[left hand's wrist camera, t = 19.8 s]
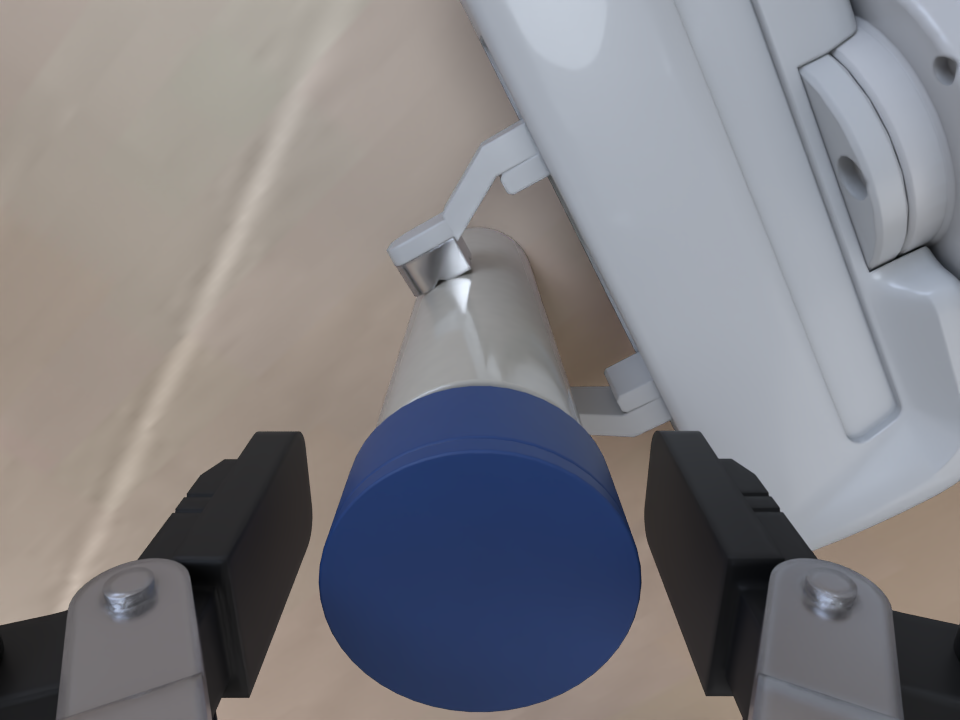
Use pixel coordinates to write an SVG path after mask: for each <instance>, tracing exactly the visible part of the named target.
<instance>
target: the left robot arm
mask: <svg viewBox="0 0 960 720" xmlns="http://www.w3.org/2000/svg"><path fill="white" fill-rule="evenodd" d="M175 510H176V511H175V513H172V514H171V516H170V517H169V518H168V520H167V521H166V522H165V524H164V525H163V526H162V528H161V529H160V530H159V532H158V533H157V534H156V536H155V537H154V538H153V540H152V541H151V543H150V544H149V545H148V547H147V548H146V549H145V551H144V552H143V553H142V555H141V556H140V557H139V559H138V560H136V561H131V562H128V563H124V564H121V565H118V566H116V567H113V568H111V569H109V570H107V571H105V572H103V573H101V574H99V575H98V576H96V577H94V578H93V579H91V580H90V581H89V582H87V583H86V584H85V585H84V586H83V587H82V588H81V589H80V590H79V591H78V592H77V593H76V594H75V596H74V597H73V598H72V600H71V602H70V604H69V608H68V610H66V611H63V612H59V613H56V614H52V615H47V616H42V617H38V618H33V619H28V620H24V621H19V622H14V623H10V624H5V625H0V720H218V719H217V714H216V709H217V707H218V705H219V702H220V700H221V698H249V697H250V695H251V692H252V690H253V687H254V684H255V682H256V679H257V677H258V674H259V671H260V669H261V666H262V664H263V661H264V658H265V656H266V653H267V651H268V648H269V645H270V643H271V640H272V638H273V635H274V633H275V630H276V627H277V625H278V622H279V620H280V617H281V614H282V612H283V609H284V607H285V604H286V601H287V599H288V596H289V594H290V591H291V589H292V586H293V583H294V581H295V578H296V576H297V573H298V570H299V568H300V565H301V563H302V560H303V557H304V555H305V552H306V550H307V547H308V544H309V541H310V536H311V529H312V503H311V493H310V484H309V475H308V465H307V456H306V447H305V441H304V437H303V435H302V433H301V432H256V433H255V434H254V435H253V437H252V438H251V440H250V441H249V443H248V444H247V446H246V447H245V449H244V450H243V452H242V453H241V455H240V456H239V458H238V459H224V460H223V461H221V462H220V463H218V464H217V465H215V466H214V467H212V468H211V469H209V470H208V471H206V472H205V473H203V474H202V475H200V477H199V478H198V479H197V481H196V482H195V483H194V485H193V486H192V487H191V489H190V490H189V492H188V493H187V497H184V498H183V500H182V501H181V502H180V504H179V505H178V506H177V508H176V509H175ZM644 520H645V531H646V537H647V541H648V544H649V547H650V550H651V553H652V555H653V558H654V560H655V563H656V566H657V568H658V571H659V574H660V576H661V579H662V582H663V584H664V587H665V589H666V592H667V595H668V597H669V600H670V603H671V605H672V608H673V611H674V613H675V616H676V618H677V621H678V624H679V626H680V629H681V632H682V634H683V637H684V640H685V642H686V645H687V647H688V650H689V653H690V655H691V658H692V661H693V663H694V666H695V669H696V671H697V674H698V676H699V679H700V682H701V684H702V687H703V690H704V692H705V695H706V696H734V699H735V701H736V703H737V706H738V708H739V710H740V713H741V715H742V717H743V719H742V720H960V624H959V625H957V624H952V623H947V622H943V621H938V620H933V619H929V618H924V617H919V616H915V615H910V614H905V613H901V612H897V611H893V610H892V608H891V604H890V602H889V600H888V598H887V597H886V596H885V594H884V593H883V592H882V591H881V590H880V589H879V588H878V587H877V586H876V585H875V584H874V583H873V582H871V581H870V580H869V579H867V578H866V577H864V576H862V575H861V574H859V573H857V572H855V571H853V570H851V569H849V568H847V567H844V566H842V565H839V564H836V563H832V562H829V561H824V560H819V559H817V558H816V556H815V555H814V553H813V552H812V551H811V549H810V548H809V547H808V545H807V544H806V543H805V541H804V540H803V538H802V537H801V536H800V534H799V533H798V532H797V530H796V529H795V528H794V526H793V525H792V524H791V522H790V521H789V519H788V518H787V517H786V515H785V514H784V513H783V512H780V507H779V506H778V505H777V503H776V502H775V500H774V499H773V498H772V496H769V492H768V491H767V490H766V488H765V487H764V485H763V484H762V483H761V481H760V480H759V479H758V477H757V476H756V475H755V474H754V473H753V472H751V471H750V470H748V469H746V468H745V467H743V466H742V465H740V464H739V463H737V462H736V461H734V460H733V459H719V458H718V457H717V455H716V454H715V452H714V451H713V449H712V448H711V446H710V445H709V443H708V442H707V440H706V439H705V437H704V436H703V434H702V433H701V432H700V431H656V432H655V433H654V435H653V438H652V443H651V451H650V461H649V470H648V480H647V489H646V499H645V510H644Z"/></svg>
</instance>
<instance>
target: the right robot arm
mask: <svg viewBox="0 0 960 720" xmlns="http://www.w3.org/2000/svg"><path fill="white" fill-rule="evenodd" d="M460 2H461V4H462V6H463V8H464V10H465V12H466V14H467V16H468V18H469V20H470V22H471V24H472V26H473V28H474V30H475V32H476V34H477V36H478V38H479V40H480V42H481V44H482V46H483V48H484V50H485V52H486V54H487V56H488V58H489V60H490V62H491V64H492V66H493V68H494V70H495V72H496V74H497V76H498V78H499V80H500V82H501V84H502V86H503V88H504V90H505V92H506V94H507V96H508V98H509V100H510V102H511V104H512V106H513V108H514V110H515V112H516V114H517V116H518V118H519V121H517V122H515V123H514V124H512V125H510V126H509V127H507V128H505V129H504V130H502V131H500V132H498V133H497V134H495V135H493V136H492V137H490V138H488V139H487V140H485V141H483V142H481V144H480V146H479V148H478V149H477V151H476V153H475V155H474V156H473V158H472V160H471V161H470V163H469V165H468V167H467V168H466V170H465V172H464V174H463V175H462V177H461V179H460V180H459V182H458V184H457V186H456V187H455V189H454V191H453V193H452V194H451V196H450V198H449V200H448V201H447V203H446V205H445V207H444V210H443V212H442V213H440V214H438V215H436V216H434V217H433V218H431V219H429V220H427V221H426V222H424V223H422V224H420V225H419V226H417V227H415V228H413V229H412V230H410V231H408V232H406V233H405V234H403V235H402V236H400V237H399V238H397V239H396V240H395V241H393V242H392V243H391V244H390V246H389V247H388V249H387V252H388V254H389V256H390V258H391V259H392V261H393V263H394V265H395V266H396V267H397V269H398V270H399V272H400V274H401V275H402V277H403V278H404V280H405V281H406V283H407V285H408V286H409V288H410V289H411V291H412V293H413V294H414V296H416V297H418V296H421V295H423V294H426V293H428V292H429V291H431V290H433V289H434V288H435V287H436V285H437V282H438V280H447V281H448V280H451V279H453V278H455V277H457V276H459V275H461V274H462V273H464V272H466V271H468V270H470V269H471V261H470V260H472V254H471V252H470V251H469V249H468V247H467V245H466V243H465V241H464V239H463V237H462V236H461V235H462V233H463V232H464V230H465V228H466V227H467V225H468V223H469V222H470V220H471V218H472V217H473V215H474V213H475V212H476V210H477V208H478V207H479V205H480V204H481V202H482V200H483V199H484V197H485V195H486V194H487V192H488V190H489V189H490V187H491V185H492V184H493V182H494V180H495V179H496V177H497V176H500V180H501V182H502V184H503V186H504V188H505V190H506V192H507V193H508V194H512V195H514V194H515V193H517V192H519V191H521V190H523V189H525V188H527V187H528V186H530V185H532V184H534V183H536V182H538V181H540V180H541V179H543V178H545V177H547V176H548V178H549V180H550V182H551V184H552V186H553V188H554V190H555V192H556V194H557V196H558V198H559V200H560V202H561V204H562V206H563V208H564V210H565V212H566V214H567V216H568V218H569V220H570V222H571V224H572V226H573V228H574V230H575V232H576V234H577V236H578V238H579V240H580V242H581V244H582V246H583V248H584V250H585V252H586V254H587V256H588V258H589V260H590V262H591V264H592V266H593V268H594V270H595V272H596V274H597V276H598V278H599V280H600V282H601V284H602V286H603V288H604V290H605V292H606V294H607V296H608V298H609V300H610V302H611V304H612V306H613V308H614V310H615V312H616V314H617V316H618V318H619V320H620V322H621V324H622V326H623V328H624V330H625V332H626V334H627V336H628V338H629V340H630V342H631V344H632V346H633V348H634V350H635V352H636V353H635V354H633V355H631V356H630V357H628V358H626V359H624V360H622V361H620V362H618V363H616V364H614V365H612V366H610V367H608V368H606V369H605V372H604V374H605V377H606V379H607V381H608V383H609V385H610V386H597V387H570V388H571V391H572V394H573V397H574V400H575V403H576V407H577V410H578V413H579V416H580V419H581V422H582V425H583V428H584V429H585V430H586V431H587V432H588V434H589V435H602V436H622V437H635V436H638V435H640V434H642V433H644V432H646V431H648V430H651V429H653V428H655V427H657V426H659V425H661V424H663V423H666V422H668V421H670V422H671V424H672V426H673V428H674V430H675V431H700V432H701V433H702V434H703V436H704V437H705V439H706V440H707V442H708V443H709V445H710V446H711V448H712V449H713V451H714V452H715V454H716V455H717V457H718V458H719V459H733V460H734V461H736V462H737V463H739V464H740V465H742V466H743V467H745V468H746V469H748V470H750V471H751V472H753V473H754V474H755V475H756V476H757V477H758V479H759V480H760V481H761V483H762V484H763V485H764V487H765V488H766V490H767V491H768V492H769V496H772V498H773V499H774V500H775V502H776V503H777V505H778V506H779V507H780V512H783V513H784V514H785V515H786V517H787V518H788V519H789V521H790V522H791V524H792V525H793V526H794V528H795V529H796V530H797V532H798V533H799V534H800V536H801V537H802V538H803V540H804V541H805V543H806V544H807V545H808V547H809V548H810V549H811V551H814V550H816V549H819V548H821V547H824V546H827V545H829V544H832V543H834V542H837V541H839V540H842V539H844V538H847V537H849V536H851V535H854V534H856V533H858V532H860V531H863V530H865V529H867V528H870V527H872V526H874V525H876V524H878V523H881V522H883V521H885V520H887V519H889V518H891V517H894V516H896V515H898V514H900V513H902V512H904V511H906V510H908V509H910V508H912V507H914V506H916V505H918V504H920V503H922V502H924V501H926V500H928V499H930V498H932V497H934V496H936V495H938V494H940V493H941V492H943V491H945V490H946V489H948V488H950V487H951V486H953V485H954V484H956V483H957V482H959V481H960V0H460Z"/></svg>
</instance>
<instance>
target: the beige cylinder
mask: <svg viewBox="0 0 960 720" xmlns="http://www.w3.org/2000/svg"><path fill="white" fill-rule="evenodd" d="M461 236H462V237H463V239H464V241H465V243H466V245H467V247H468V249H469V251H470V252H471V254H472V260H470V261H471V269H470V270H468V271H466V272H464V273H462V274H461V275H459V276H457V277H455V278H453V279H451V280H448V281H447V280H438V282H437V285H436V287H435V288H434V289H433V290H431V291H429V292H428V293H426V294H423V295H421V296H418V297H417V298H416V301H415V304H414V308H413V311H412V314H411V317H410V320H409V323H408V327H407V330H406V333H405V336H404V339H403V343H402V346H401V349H400V352H399V355H398V358H397V362H396V365H395V368H394V371H393V374H392V377H391V381H390V384H389V387H388V390H387V393H386V397H385V400H384V403H383V406H382V409H381V412H380V416H379V419H378V422H377V425H376V428H377V427H378V426H379V425H380V424H381V423H382V422H383V421H384V420H385V419H386V418H387V417H389V416H390V415H392V414H393V413H394V412H396V411H397V410H399V409H400V408H401V407H403V406H405V405H407V404H409V403H411V402H413V401H415V400H416V399H419V398H421V397H424V396H427V395H429V394H432V393H435V392H439V391H443V390H447V389H451V388H458V387H466V386H494V387H502V388H509V389H513V390H517V391H521V392H525V393H528V394H531V395H533V396H536V397H538V398H541V399H544V400H545V401H547V402H549V403H551V404H553V405H555V406H556V407H558V408H560V409H561V410H563V411H564V412H565V413H567V414H568V415H570V416H571V417H572V418H574V419H575V420H576V421H577V422H578V423H579V424H580V425H581V426H582V427H583V425H582V422H581V419H580V416H579V413H578V410H577V407H576V403H575V400H574V397H573V394H572V391H571V388H570V385H569V382H568V379H567V376H566V373H565V370H564V367H563V363H562V360H561V357H560V354H559V351H558V348H557V345H556V342H555V339H554V336H553V333H552V330H551V327H550V324H549V320H548V317H547V314H546V311H545V308H544V305H543V302H542V299H541V296H540V293H539V290H538V287H537V284H536V280H535V277H534V274H533V271H532V268H531V265H530V262H529V260H528V258H527V256H526V254H525V252H524V251H523V249H522V248H521V247H520V246H519V245H518V244H517V243H516V242H515V241H514V240H513V239H512V238H510V237H509V236H507V235H506V234H504V233H502V232H499V231H497V230H493V229H490V228H468V229H465V230H464V232H463V233H462V235H461ZM376 428H375V429H376Z"/></svg>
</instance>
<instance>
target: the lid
mask: <svg viewBox="0 0 960 720" xmlns="http://www.w3.org/2000/svg"><path fill="white" fill-rule="evenodd" d="M319 590H320V600H321V603H322V607H323V611H324V615H325V618H326V620H327V623H328V625H329V627H330V629H331V632H332V634H333V635H334V637H335V639H336V640H337V642H338V643H339V645H340V647H341V648H342V649H343V651H344V652H345V653H346V654H347V655H348V657H349V658H350V659H351V660H352V661H353V662H354V663H355V664H356V665H357V666H358V667H359V668H360V669H361V670H362V671H363V672H364V673H366V674H367V675H368V676H370V677H371V678H372V679H374V680H375V681H377V682H378V683H379V684H381V685H382V686H384V687H386V688H388V689H390V690H391V691H393V692H395V693H397V694H399V695H401V696H404V697H406V698H409V699H411V700H413V701H416V702H420V703H423V704H426V705H429V706H433V707H438V708H443V709H448V710H455V711H465V712H494V711H504V710H511V709H517V708H522V707H527V706H530V705H533V704H537V703H540V702H543V701H546V700H549V699H551V698H553V697H556V696H558V695H560V694H563V693H565V692H566V691H568V690H570V689H572V688H573V687H575V686H577V685H579V684H580V683H582V682H583V681H584V680H586V679H587V678H589V677H590V676H591V675H593V674H594V673H595V672H596V671H597V670H598V669H600V668H601V667H602V666H603V665H604V664H605V663H606V662H607V661H608V660H609V659H610V657H611V656H612V655H613V654H614V653H615V651H616V650H617V649H618V648H619V646H620V645H621V643H622V642H623V640H624V638H625V637H626V635H627V634H628V631H629V629H630V627H631V625H632V622H633V620H634V618H635V614H636V611H637V607H638V603H639V600H640V591H641V565H640V561H639V556H638V552H637V548H636V545H635V542H634V539H633V536H632V534H631V531H630V528H629V525H628V522H627V520H626V517H625V514H624V511H623V508H622V506H621V503H620V500H619V497H618V494H617V492H616V489H615V486H614V483H613V480H612V478H611V475H610V472H609V469H608V467H607V464H606V462H605V459H604V457H603V455H602V453H601V451H600V450H599V448H598V446H597V444H596V443H595V441H594V440H593V439H592V438H591V436H590V435H589V434H588V432H587V431H586V430H585V429H584V428H583V427H582V426H581V425H580V424H579V423H578V422H577V421H576V420H575V419H574V418H572V417H571V416H570V415H568V414H567V413H565V412H564V411H563V410H561V409H560V408H558V407H556V406H555V405H553V404H551V403H549V402H547V401H545V400H544V399H541V398H538V397H536V396H533V395H531V394H528V393H525V392H521V391H517V390H513V389H509V388H502V387H494V386H466V387H458V388H451V389H447V390H443V391H439V392H435V393H432V394H429V395H427V396H424V397H421V398H419V399H416V400H415V401H413V402H411V403H409V404H407V405H405V406H403V407H401V408H400V409H399V410H397V411H396V412H394V413H393V414H392V415H390V416H389V417H387V418H386V419H385V420H384V421H383V422H382V423H381V424H380V425H379V426H378V427H377V428H376V429H375V430H374V431H373V432H372V433H371V435H370V436H369V437H368V438H367V440H366V441H365V442H364V444H363V446H362V447H361V449H360V451H359V452H358V454H357V456H356V458H355V461H354V463H353V466H352V468H351V471H350V474H349V476H348V479H347V482H346V485H345V488H344V491H343V494H342V497H341V499H340V502H339V505H338V508H337V511H336V514H335V517H334V520H333V523H332V525H331V528H330V531H329V534H328V537H327V540H326V543H325V546H324V549H323V553H322V558H321V562H320V570H319Z"/></svg>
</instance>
